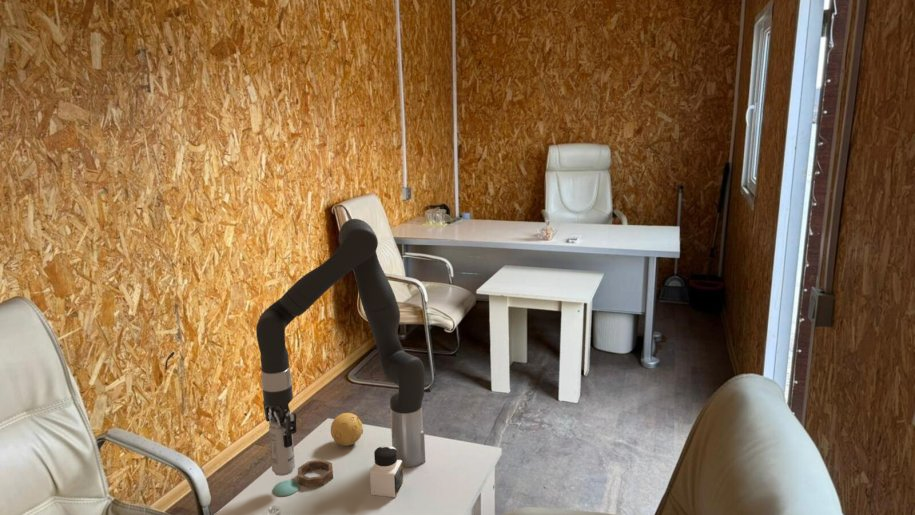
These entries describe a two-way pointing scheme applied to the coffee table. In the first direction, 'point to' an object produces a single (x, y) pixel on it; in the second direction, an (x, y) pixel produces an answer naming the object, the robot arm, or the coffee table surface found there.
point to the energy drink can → (280, 451)
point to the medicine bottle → (386, 472)
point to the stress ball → (346, 429)
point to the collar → (315, 480)
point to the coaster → (286, 488)
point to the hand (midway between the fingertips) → (282, 441)
